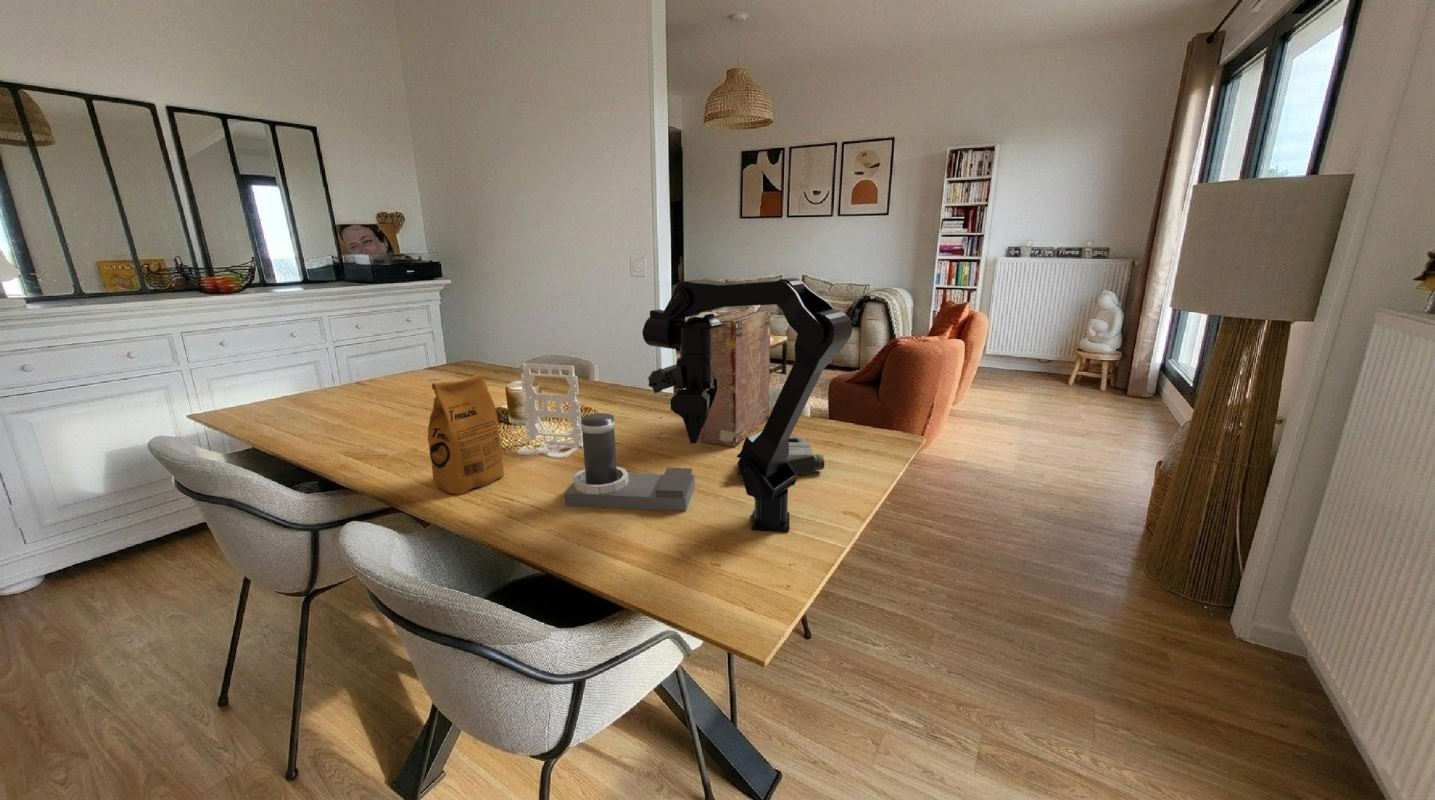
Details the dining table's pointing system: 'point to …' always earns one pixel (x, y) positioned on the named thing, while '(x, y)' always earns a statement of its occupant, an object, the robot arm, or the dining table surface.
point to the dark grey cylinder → (599, 448)
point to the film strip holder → (551, 412)
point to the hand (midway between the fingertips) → (697, 434)
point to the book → (739, 376)
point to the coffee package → (464, 436)
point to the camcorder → (801, 457)
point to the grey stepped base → (635, 490)
